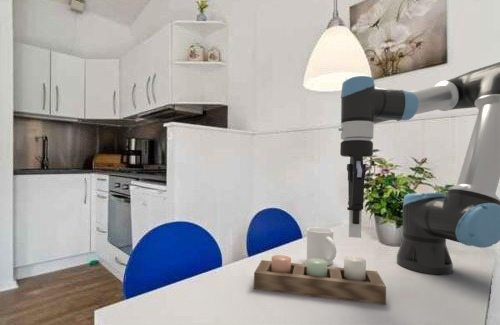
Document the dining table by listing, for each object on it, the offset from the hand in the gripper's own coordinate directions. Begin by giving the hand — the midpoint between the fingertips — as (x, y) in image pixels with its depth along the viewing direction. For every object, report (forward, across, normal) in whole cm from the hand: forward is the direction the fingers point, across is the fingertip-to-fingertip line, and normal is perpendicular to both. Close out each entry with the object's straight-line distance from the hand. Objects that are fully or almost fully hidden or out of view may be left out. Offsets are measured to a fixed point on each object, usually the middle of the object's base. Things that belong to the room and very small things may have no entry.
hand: (354, 236), depth 70 cm
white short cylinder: (+10, 0, 0) cm, 10 cm away
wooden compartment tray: (+14, 0, -9) cm, 16 cm away
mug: (+14, -20, -7) cm, 25 cm away
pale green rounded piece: (+11, 0, -9) cm, 14 cm away
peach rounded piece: (+11, 0, -18) cm, 21 cm away
